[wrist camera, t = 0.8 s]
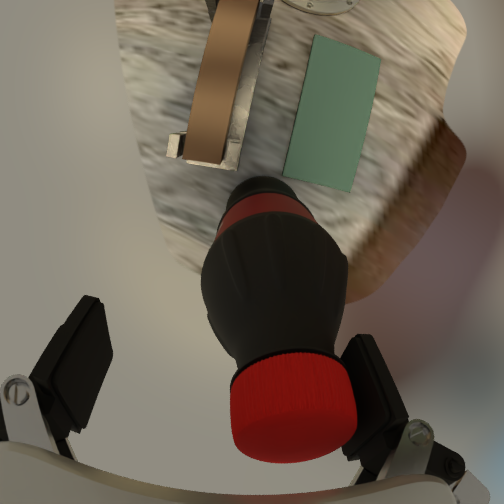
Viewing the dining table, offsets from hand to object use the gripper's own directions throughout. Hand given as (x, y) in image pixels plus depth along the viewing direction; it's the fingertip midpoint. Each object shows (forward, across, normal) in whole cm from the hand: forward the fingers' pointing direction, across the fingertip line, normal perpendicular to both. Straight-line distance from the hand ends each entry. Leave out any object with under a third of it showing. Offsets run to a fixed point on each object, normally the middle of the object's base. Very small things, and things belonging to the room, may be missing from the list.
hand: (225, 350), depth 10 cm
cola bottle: (+26, -4, +2) cm, 27 cm away
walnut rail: (+18, +3, -12) cm, 21 cm away
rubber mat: (+27, -10, -11) cm, 31 cm away
